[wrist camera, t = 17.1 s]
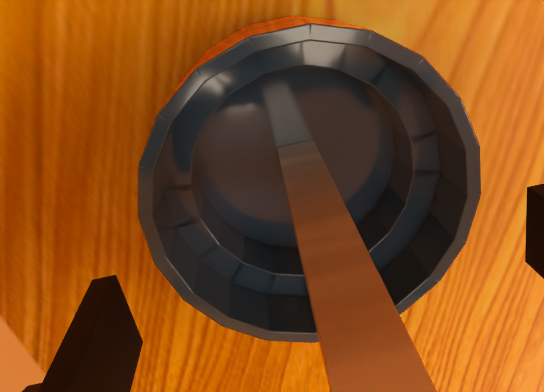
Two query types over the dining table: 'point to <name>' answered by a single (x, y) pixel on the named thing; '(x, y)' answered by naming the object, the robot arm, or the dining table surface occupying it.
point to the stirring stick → (346, 286)
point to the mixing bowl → (335, 153)
